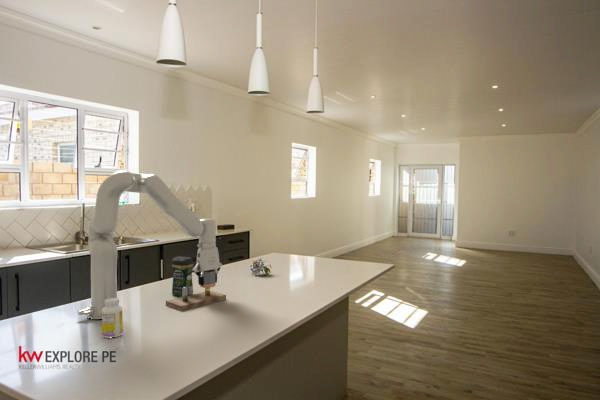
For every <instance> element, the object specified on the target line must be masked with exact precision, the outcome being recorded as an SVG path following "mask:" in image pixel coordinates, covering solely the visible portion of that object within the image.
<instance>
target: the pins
mask: <svg viewBox="0 0 600 400" xmlns="http://www.w3.org/2000/svg"><path fill="white" fill-rule="evenodd" d="M210 291H211V287H210V288H204V292H205V296H210ZM181 297H182V301H188V288H187V287H183V289H182V296H181Z"/></svg>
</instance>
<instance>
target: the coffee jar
mask: <svg viewBox="0 0 600 400" xmlns="http://www.w3.org/2000/svg"><path fill="white" fill-rule="evenodd" d="M193 261H194V260H193V258H192V257H189V256H174V257H173V258H172V262H171V268H172V273H173V274H172V284H171V285H172V287H171V294H172V295H174V296H177V297H182V289H183V287H187V288H188V296H189V295H193V294H194V284H193V270H192V269H193V268H194V262H193Z"/></svg>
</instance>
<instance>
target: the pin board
mask: <svg viewBox="0 0 600 400" xmlns="http://www.w3.org/2000/svg"><path fill="white" fill-rule="evenodd" d="M225 300H227V294H224V293H220V292H217V291H214V290H210V296H205V291H202V292H198V293H192V294H191V295H189V296H188V301H182V296H179V297H176V298H173V299H168V300H165V306H166V307H169V308H172V309H174V310H177V311H180V312H182V311H185V310H189V309H193V308H198V307H202V306H205V305H209V304H212V303H216V302H217V303H218V302H221V301H225Z"/></svg>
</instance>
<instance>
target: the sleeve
mask: <svg viewBox="0 0 600 400" xmlns="http://www.w3.org/2000/svg"><path fill="white" fill-rule="evenodd" d="M203 277H204V285H203V286H202V285H199V286H200V287H201V288H204V289H205V288H210V289H211V288H215V287H216V284H217V282H216V270H209V271H204V274H203Z"/></svg>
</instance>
